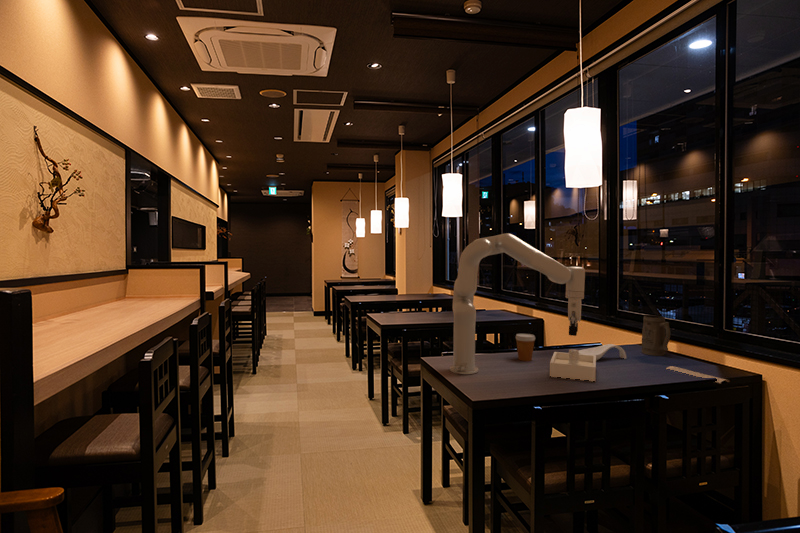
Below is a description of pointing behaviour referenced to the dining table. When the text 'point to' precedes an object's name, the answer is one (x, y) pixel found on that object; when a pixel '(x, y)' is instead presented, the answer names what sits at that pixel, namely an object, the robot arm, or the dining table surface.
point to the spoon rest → (602, 351)
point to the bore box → (573, 367)
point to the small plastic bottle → (573, 356)
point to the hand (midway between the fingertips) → (573, 333)
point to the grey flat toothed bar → (696, 374)
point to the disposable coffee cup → (525, 346)
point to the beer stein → (655, 335)
